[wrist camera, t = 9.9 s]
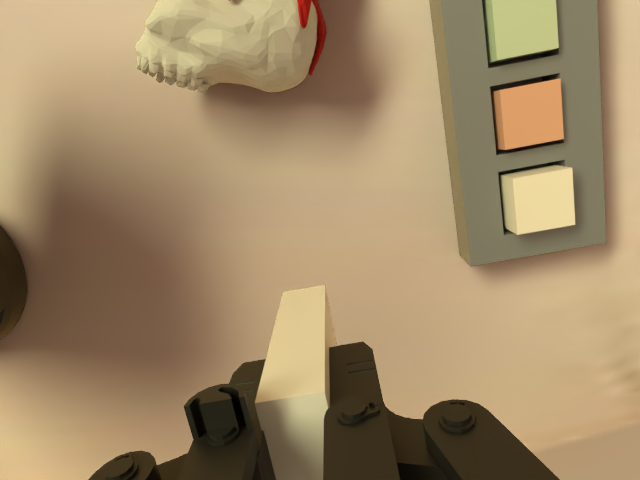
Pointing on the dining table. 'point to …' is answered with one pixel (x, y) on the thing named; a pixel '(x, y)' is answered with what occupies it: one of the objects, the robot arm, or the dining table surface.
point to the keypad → (489, 163)
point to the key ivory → (538, 199)
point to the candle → (232, 42)
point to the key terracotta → (527, 114)
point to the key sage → (519, 28)
